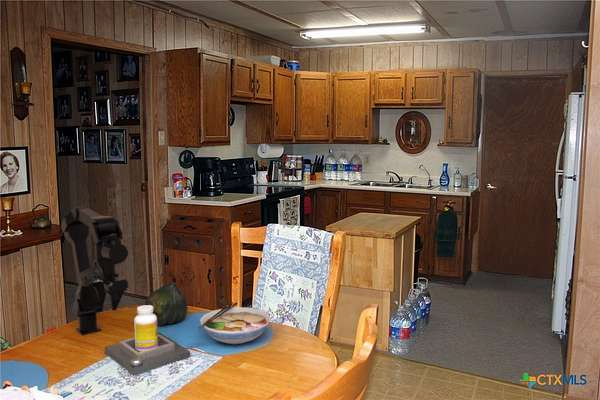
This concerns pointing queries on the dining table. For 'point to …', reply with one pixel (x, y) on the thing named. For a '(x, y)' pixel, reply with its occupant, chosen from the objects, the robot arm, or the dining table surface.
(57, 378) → the dining table surface
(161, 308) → the squash
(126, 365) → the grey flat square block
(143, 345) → the supplement bottle
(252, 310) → the ramen bowl
